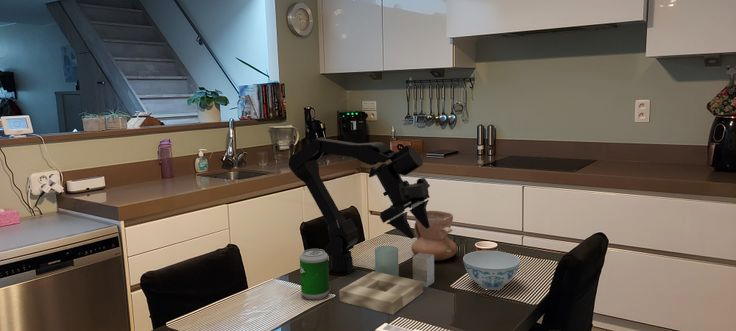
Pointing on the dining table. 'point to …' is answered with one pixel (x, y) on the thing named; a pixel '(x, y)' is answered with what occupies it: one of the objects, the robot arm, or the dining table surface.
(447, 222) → the ceramic jug
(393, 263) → the round peg
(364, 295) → the socket plate
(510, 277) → the chinaware
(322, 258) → the soda can
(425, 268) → the square peg
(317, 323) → the dining table surface
